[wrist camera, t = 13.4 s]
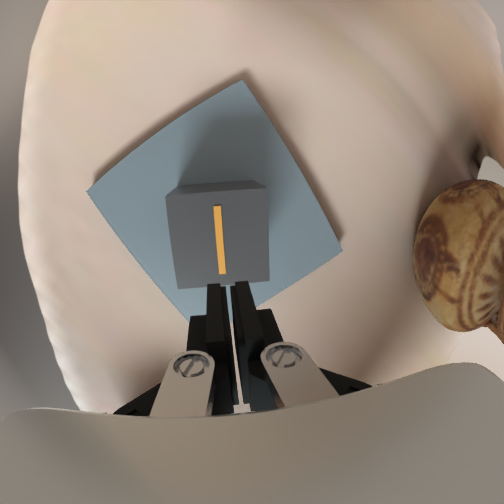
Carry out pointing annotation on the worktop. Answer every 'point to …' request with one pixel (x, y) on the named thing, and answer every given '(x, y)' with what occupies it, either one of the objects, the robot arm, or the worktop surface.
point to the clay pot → (463, 257)
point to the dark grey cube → (219, 233)
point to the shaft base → (213, 171)
